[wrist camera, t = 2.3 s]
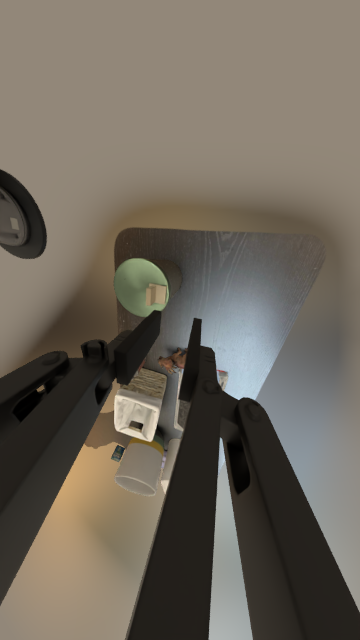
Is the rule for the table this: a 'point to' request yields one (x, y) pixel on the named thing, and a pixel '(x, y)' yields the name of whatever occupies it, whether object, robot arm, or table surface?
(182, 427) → the architectural model
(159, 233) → the table surface
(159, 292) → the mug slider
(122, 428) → the basket
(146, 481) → the planter
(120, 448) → the puzzle
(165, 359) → the dinosaur figurine
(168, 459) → the bottle
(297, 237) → the table surface
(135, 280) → the green-lidded canister
